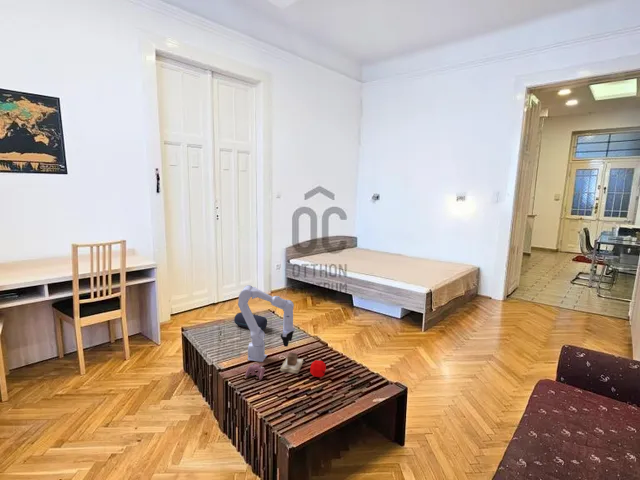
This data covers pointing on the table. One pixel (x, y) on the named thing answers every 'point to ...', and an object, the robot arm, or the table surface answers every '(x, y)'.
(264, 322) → the portable speaker
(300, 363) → the shallow cream tray
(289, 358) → the walnut block
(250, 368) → the video game controller
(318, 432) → the table surface
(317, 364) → the ball
